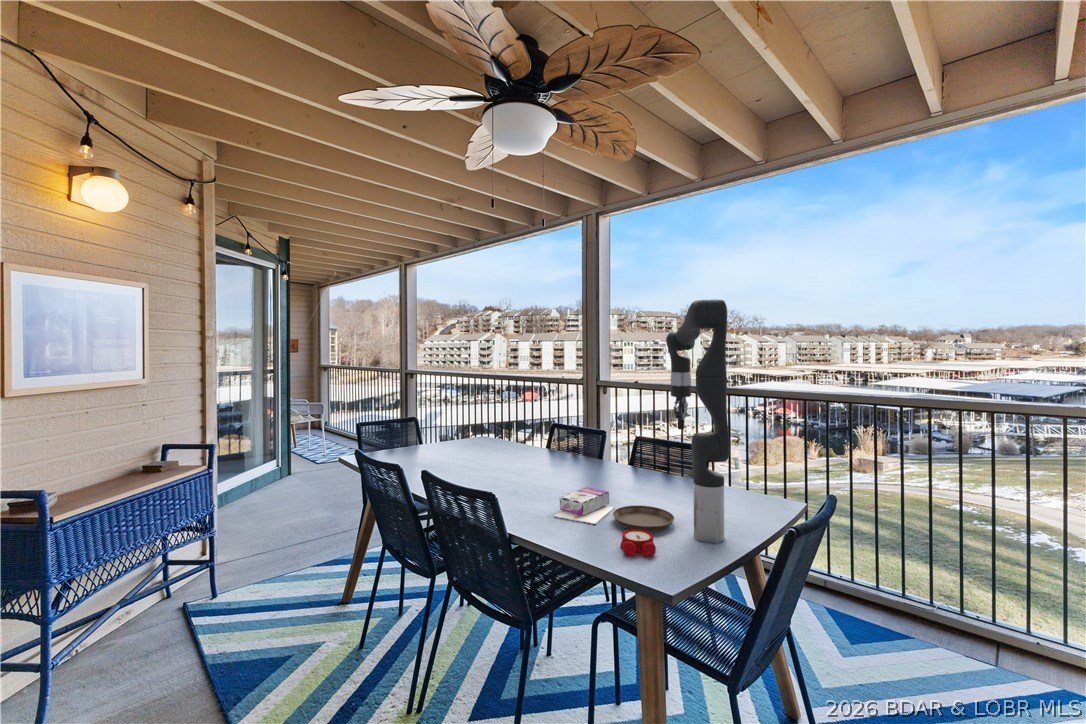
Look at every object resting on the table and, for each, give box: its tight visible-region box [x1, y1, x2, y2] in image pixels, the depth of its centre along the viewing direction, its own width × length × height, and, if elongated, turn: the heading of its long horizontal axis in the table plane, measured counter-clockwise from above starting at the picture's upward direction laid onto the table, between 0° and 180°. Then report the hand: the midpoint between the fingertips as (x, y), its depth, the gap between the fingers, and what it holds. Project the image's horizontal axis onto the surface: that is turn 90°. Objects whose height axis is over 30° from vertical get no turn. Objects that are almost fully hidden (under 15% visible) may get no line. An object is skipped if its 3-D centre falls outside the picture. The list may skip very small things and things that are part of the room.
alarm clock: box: [619, 529, 657, 558], centre depth 140 cm, size 10×6×15 cm
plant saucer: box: [612, 505, 675, 533], centre depth 161 cm, size 21×21×3 cm
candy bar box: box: [559, 486, 610, 515], centre depth 176 cm, size 11×5×16 cm
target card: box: [554, 505, 615, 525], centre depth 172 cm, size 18×16×1 cm
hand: (681, 429), depth 180 cm, fingers closed
